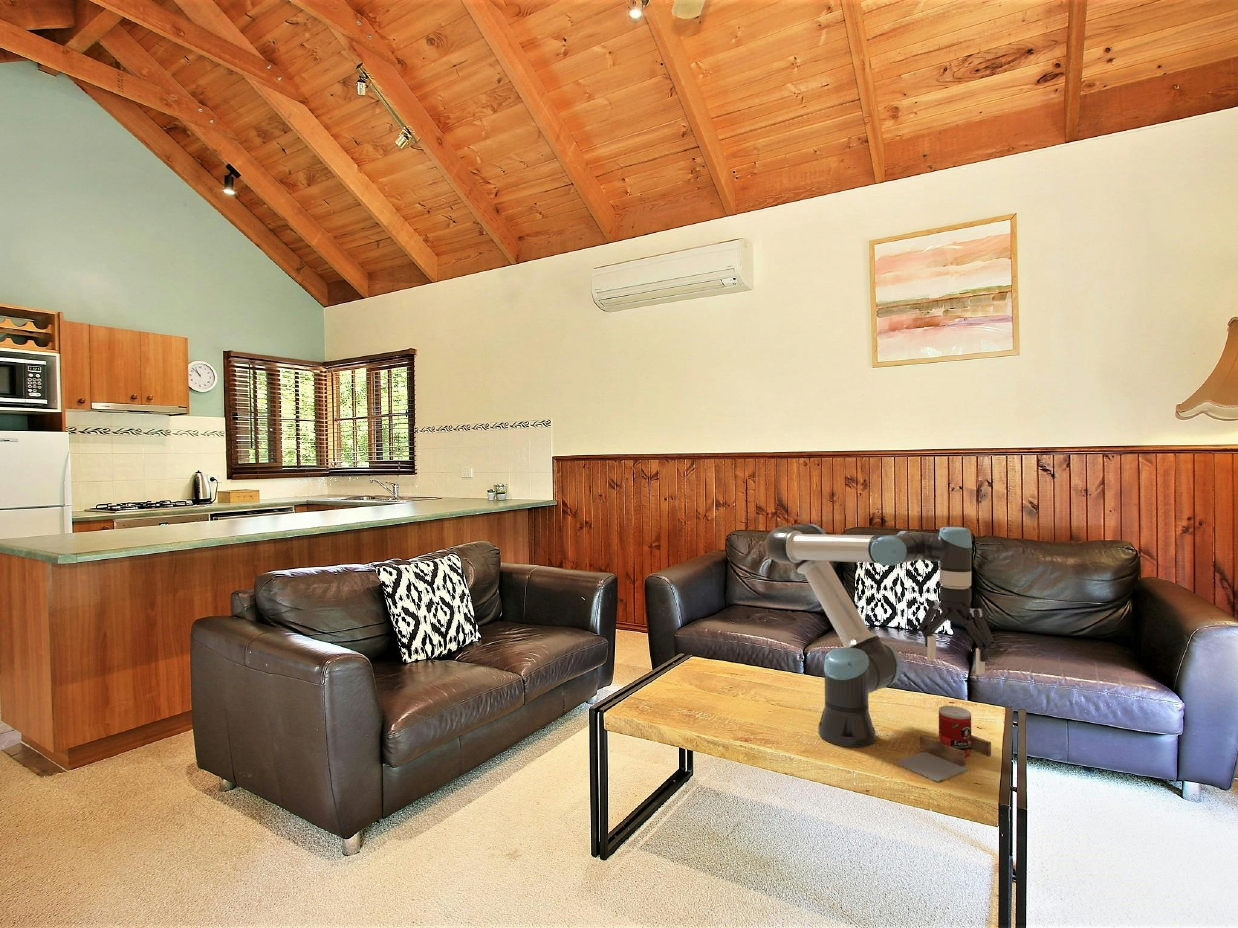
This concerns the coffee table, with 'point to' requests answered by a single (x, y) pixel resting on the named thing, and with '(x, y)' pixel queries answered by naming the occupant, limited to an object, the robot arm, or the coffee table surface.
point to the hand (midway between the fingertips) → (955, 666)
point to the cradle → (954, 749)
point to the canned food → (955, 728)
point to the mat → (931, 766)
